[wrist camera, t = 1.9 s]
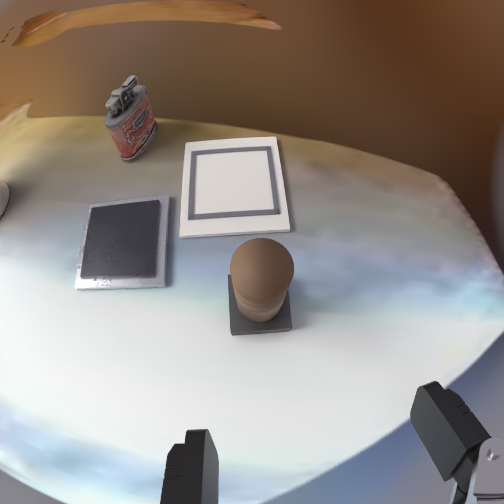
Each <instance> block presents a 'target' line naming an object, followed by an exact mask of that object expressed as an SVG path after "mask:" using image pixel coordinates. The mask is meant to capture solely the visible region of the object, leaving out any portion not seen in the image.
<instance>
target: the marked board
mask: <svg viewBox="0 0 504 504" xmlns="http://www.w3.org/2000/svg"><path fill="white" fill-rule="evenodd" d="M275 232H290V224H289V217H288V210H287V203H286V196H285V190H284V183H283V177H282V171H281V164H280V158H279V152H278V146H277V140H276V137H255V138H236V139H221V140H209V141H198V142H188V143H186V146H185V157H184V169H183V183H182V198H181V215H180V238H181V239H182V238H196V237H211V236H226V235H242V234H258V233H275Z"/></svg>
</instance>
